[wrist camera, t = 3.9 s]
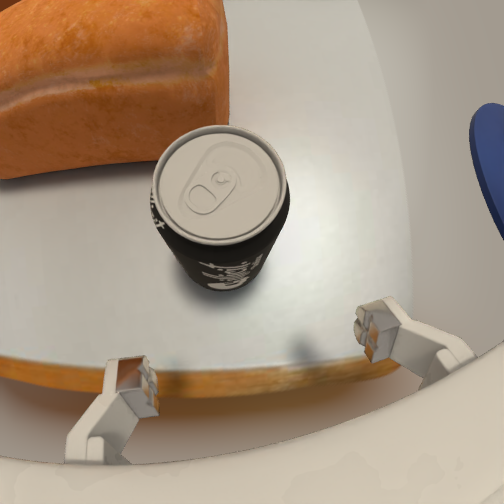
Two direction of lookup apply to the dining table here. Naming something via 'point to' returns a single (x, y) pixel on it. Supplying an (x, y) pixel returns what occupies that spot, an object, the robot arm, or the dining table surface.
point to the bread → (107, 80)
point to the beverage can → (220, 204)
